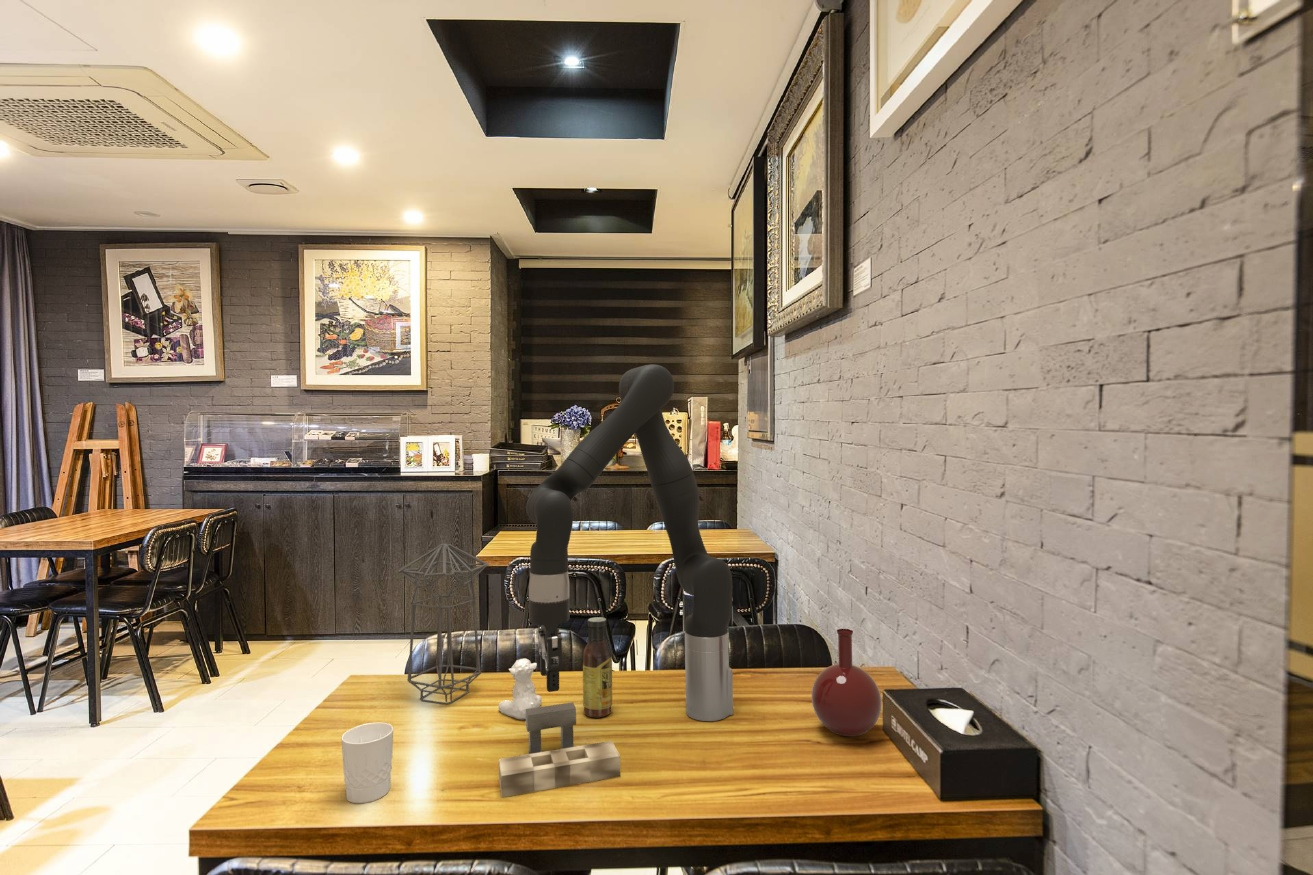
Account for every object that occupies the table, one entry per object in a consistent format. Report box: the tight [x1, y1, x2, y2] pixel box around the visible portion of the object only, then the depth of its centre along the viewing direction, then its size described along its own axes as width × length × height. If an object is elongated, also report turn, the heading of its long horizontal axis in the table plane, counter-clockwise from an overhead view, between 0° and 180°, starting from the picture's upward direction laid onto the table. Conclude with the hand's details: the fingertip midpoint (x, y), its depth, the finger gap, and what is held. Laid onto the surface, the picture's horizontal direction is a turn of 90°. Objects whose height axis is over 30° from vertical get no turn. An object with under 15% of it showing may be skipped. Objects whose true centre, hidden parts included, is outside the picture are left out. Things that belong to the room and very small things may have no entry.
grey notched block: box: [525, 702, 577, 754], centre depth 120 cm, size 9×3×8 cm, turn 108°
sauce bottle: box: [582, 616, 613, 719], centre depth 137 cm, size 7×6×20 cm
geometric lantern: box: [398, 543, 490, 706], centre depth 148 cm, size 16×16×35 cm
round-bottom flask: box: [811, 628, 883, 737], centre depth 126 cm, size 13×13×20 cm
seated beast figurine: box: [498, 657, 542, 721], centre depth 137 cm, size 10×9×12 cm
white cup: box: [341, 722, 394, 804], centre depth 107 cm, size 8×8×10 cm
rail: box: [498, 740, 621, 798], centre depth 110 cm, size 20×6×4 cm, turn 108°
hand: (549, 682), depth 120 cm, fingers open, 8 cm apart
